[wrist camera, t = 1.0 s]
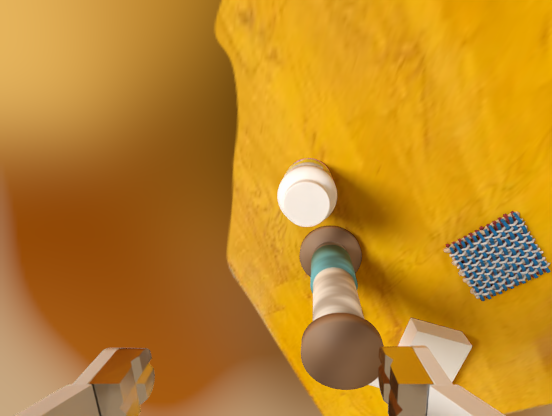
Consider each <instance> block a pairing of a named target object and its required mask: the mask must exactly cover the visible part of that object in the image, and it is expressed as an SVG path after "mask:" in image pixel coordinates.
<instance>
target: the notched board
mask: <svg viewBox="0 0 552 416" xmlns="http://www.w3.org/2000/svg"><path fill="white" fill-rule="evenodd" d="M422 345H425V346H427V347H428V348H429V350H430V351H431V353H432V354H433V356H434V357H435V359H436V360H437V362H438V363H439V364H440V366H441V367H442V369H443V370H444V372H445V373H446V375H447V376H448V378H449V379H450V381H451V382H453V380H454V378H455V376H456V375H457V373H458V371H459V369H460V368H461V366H462V364H463V362H464V361H465V359H466V357H467V355H468V353H469V352H470V350H471V348H472V345H471V343H470V342H469V341H468V339H467V338H466V336H465V335H464V334H463V332H461V331H458V330H454V329H450V328H447V327H443V326H439V325H436V324H432V323H428V322H425V321H421V320H418V319H414V318H410V321H409V323H408V325H407V327H406V329H405V332H404V334H403V336H402V338H401V340H400V342H399V345H398V346H422ZM368 385H371V386H375V387H378V388H380V387H379V380H378V378H377V379H376V380H374V381H373V382H372V383H370V384H368Z"/></svg>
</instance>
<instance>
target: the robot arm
mask: <svg viewBox="0 0 552 416" xmlns="http://www.w3.org/2000/svg"><path fill="white" fill-rule="evenodd" d="M151 358H152V357H151V353H150V350H149V349H147V348H107V349H105V350H103V351H102V352H101V353H100V354H99V356H98V357H97V358H96V359H95V360H94V361H93V362H92V363H91V364H90V365H89V366H88V368H87V369H86V370H85V371H84V372H83V373H82V374H81V375H80V376H79V378H78V379H77V380H76V381H75V382H74V383H73V384H68V385H66V386H64V387H62V388H61V389H59V390H57V391H55V392H54V393H52V394H50V395H48V396H47V397H45V398H43V399H42V400H40V401H38V402H37V403H35V404H33V405H31V406H29V407H28V408H26V409H24V410H23V411H21V412H19V413H17V414H15V415H14V416H138V415H139V413H140V412H141V411H140V404H142V403H143V402H144V401H146V400H147V399H148V397H149V395H150V393H151V391H152V388H153V384H154V376H155V374H154V369H153V368H152V366H151V365H150V364H149V361H150V360H151ZM379 359H380V362H381V365H380V366H379V368H378V380H379V387H380V391H381V394H382V397H383V400H384V401H385V402H386V403H387V404H388V414H389V416H505V415H504V414H502V413H501V412H499V411H498V410H496V409H494V408H493V407H491V406H490V405H488V404H487V403H485V402H484V401H482V400H481V399H479V398H478V397H476V396H475V395H473V394H471V393H470V392H468V391H467V390H465V389H464V388H462V387H461V386H459V385H453V384H452V382H451V381H450V379H449V378H448V376H447V375H446V373H445V372H444V370H443V369H442V367H441V366H440V364H439V363H438V362H437V360H436V359H435V357H434V356H433V354H432V353H431V351H430V350H429V348H428V347H427V346H425V345H422V346H393V347H380V348H379Z"/></svg>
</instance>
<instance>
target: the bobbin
mask: <svg viewBox="0 0 552 416" xmlns="http://www.w3.org/2000/svg"><path fill="white" fill-rule="evenodd" d="M361 259H362V254H361V249H360V246H359V243H358V241H357V240H356V238H355V237H354V236H353V235H352V234H351V233H350V232H349V231H347V230H346V229H343V228H341V227H337V226H323V227H319V228H317V229H315V230H313V231H311V232H310V233H309V234H308V235H307V236H306V237H305V239H304V240H303V242H302V245H301V249H300V262H301V265H302V267H303V269H304V271H305V272H306V273H307V274H308V275H309V276H310V277H311V290H312V293H313V322H312V323H311V324H310V325H309V326H308V327H307V328H306V330H305V331H304V334H303V337H302V345H301V359H302V363H303V365H304V367H305V369H306V371H307V372H308V373H309V375H310V376H311V377H312V378H314V379H315V380H316V381H318V382H319V383H321V384H323V385H325V386H328V387H331V388H335V389H341V390H350V389H357V388H361V387H364V386H366V385H368V384H370V383H372V382H373V381H374V380H376V379H377V378H378V368H379V366H380V365H381V362H380V359H379V348H380V347H384V346H383V343H382V339H381V336H380V334H379V332H378V331H377V330H376V328H375V327H374V326H373V325H372V324H371V323H370V322H368V321H367V320H365V319H364V317H363V313H362V309H361V305H360V301H359V297H358V294H357V287H358V284H357V280H356V276H355V273H356V272H357V270H358V269H359V267H360V264H361Z"/></svg>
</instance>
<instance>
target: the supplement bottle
mask: <svg viewBox="0 0 552 416" xmlns="http://www.w3.org/2000/svg"><path fill="white" fill-rule="evenodd" d="M336 202H337V189H336V186H335V183H334V181H333V178H332V175H331V173H330V171H329V169H328V168H327V167H326V165H324V164H323V163H322V162H320V161H318V160H316V159H310V158H307V159H302V160H299V161H297V162H295V163H294V164H293V165H292V166H291V167H290V168H289V169H288V171H287V172H286V174H285V176H284V178H283V179H282V181H281V183H280V185H279V188H278V203H279V206H280V209H281V210H282V212H283V213H284V215H285V216H286V217H287V218H288V219H289V220H290V221H291V222H293V223H294V224H296V225H298V226H303V227H311V226H315V225H317V224H319V223H321V222H322V221H323V220H324V219H326V218H327V217H328V216H329V215H330V214H331V213H332V211H333V210H334V208H335V205H336Z"/></svg>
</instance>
